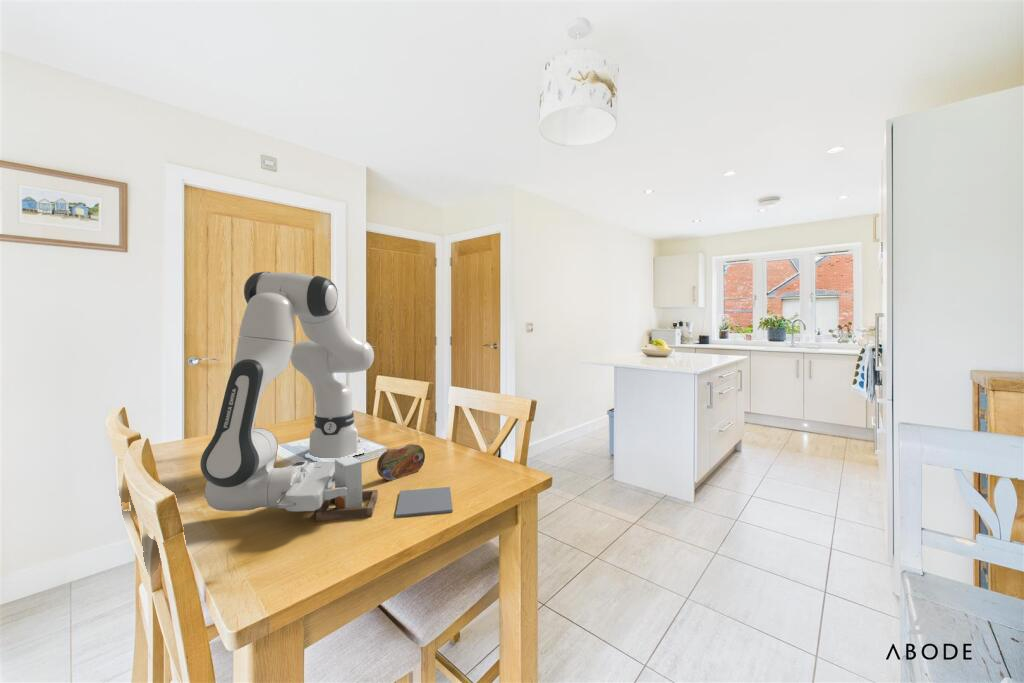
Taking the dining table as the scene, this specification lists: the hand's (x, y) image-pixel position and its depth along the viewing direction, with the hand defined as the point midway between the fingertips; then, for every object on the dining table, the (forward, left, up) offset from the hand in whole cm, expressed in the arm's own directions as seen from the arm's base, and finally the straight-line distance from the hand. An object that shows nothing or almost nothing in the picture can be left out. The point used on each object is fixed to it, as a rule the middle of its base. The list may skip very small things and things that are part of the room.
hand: (351, 482), depth 94 cm
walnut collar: (0, -1, -7) cm, 7 cm away
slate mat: (0, +17, -7) cm, 18 cm away
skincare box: (0, -1, -7) cm, 7 cm away
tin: (-19, +10, -7) cm, 23 cm away
